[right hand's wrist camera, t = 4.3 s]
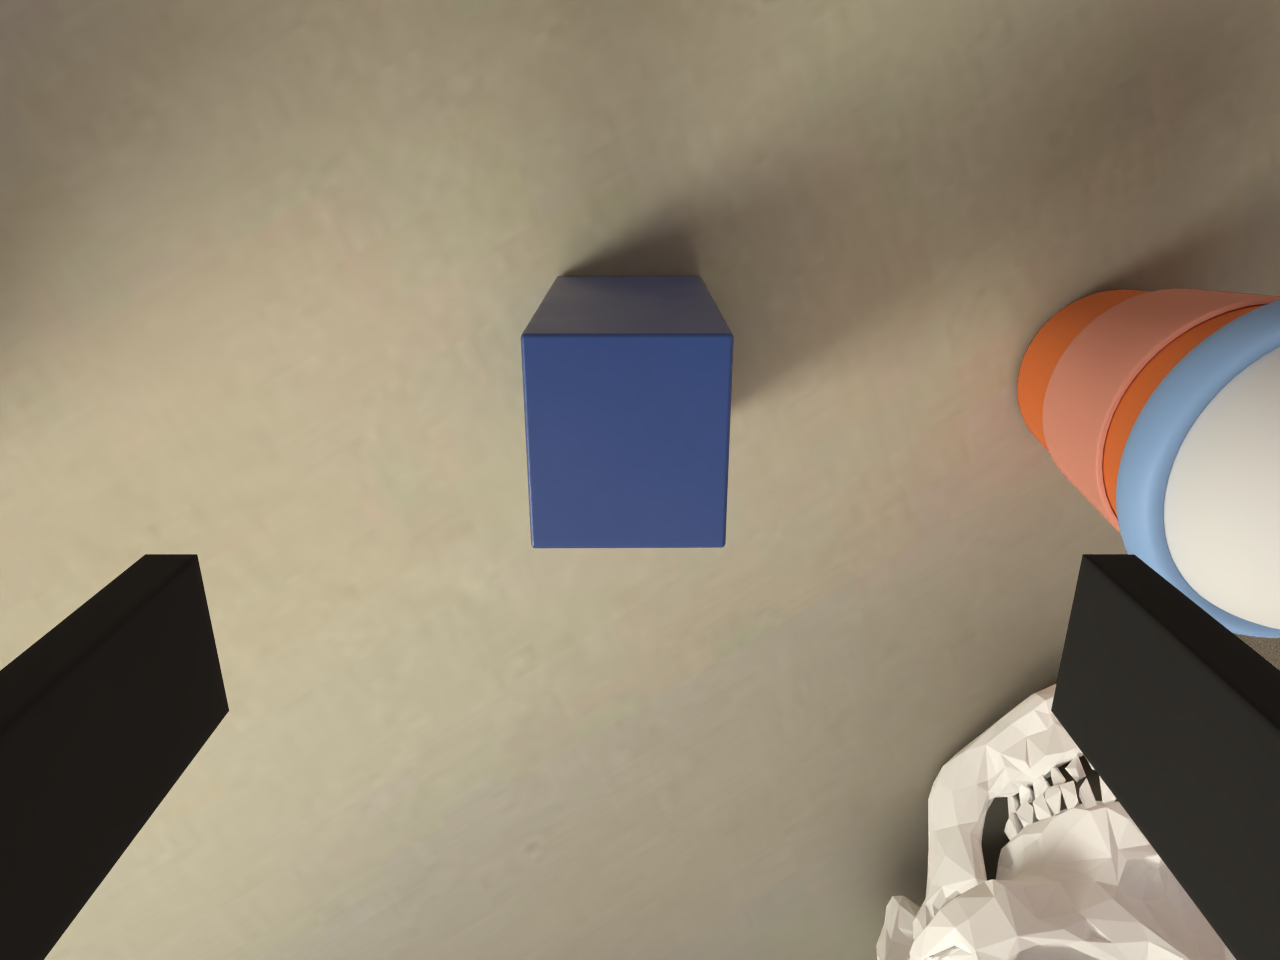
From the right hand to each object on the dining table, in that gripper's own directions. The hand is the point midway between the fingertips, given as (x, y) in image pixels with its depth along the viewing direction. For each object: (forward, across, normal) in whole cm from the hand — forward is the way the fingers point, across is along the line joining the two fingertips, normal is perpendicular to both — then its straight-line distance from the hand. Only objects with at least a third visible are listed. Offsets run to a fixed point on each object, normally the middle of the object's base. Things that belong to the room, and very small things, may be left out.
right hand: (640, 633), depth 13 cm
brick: (+19, 0, 0) cm, 19 cm away
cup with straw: (+19, -17, +1) cm, 25 cm away
